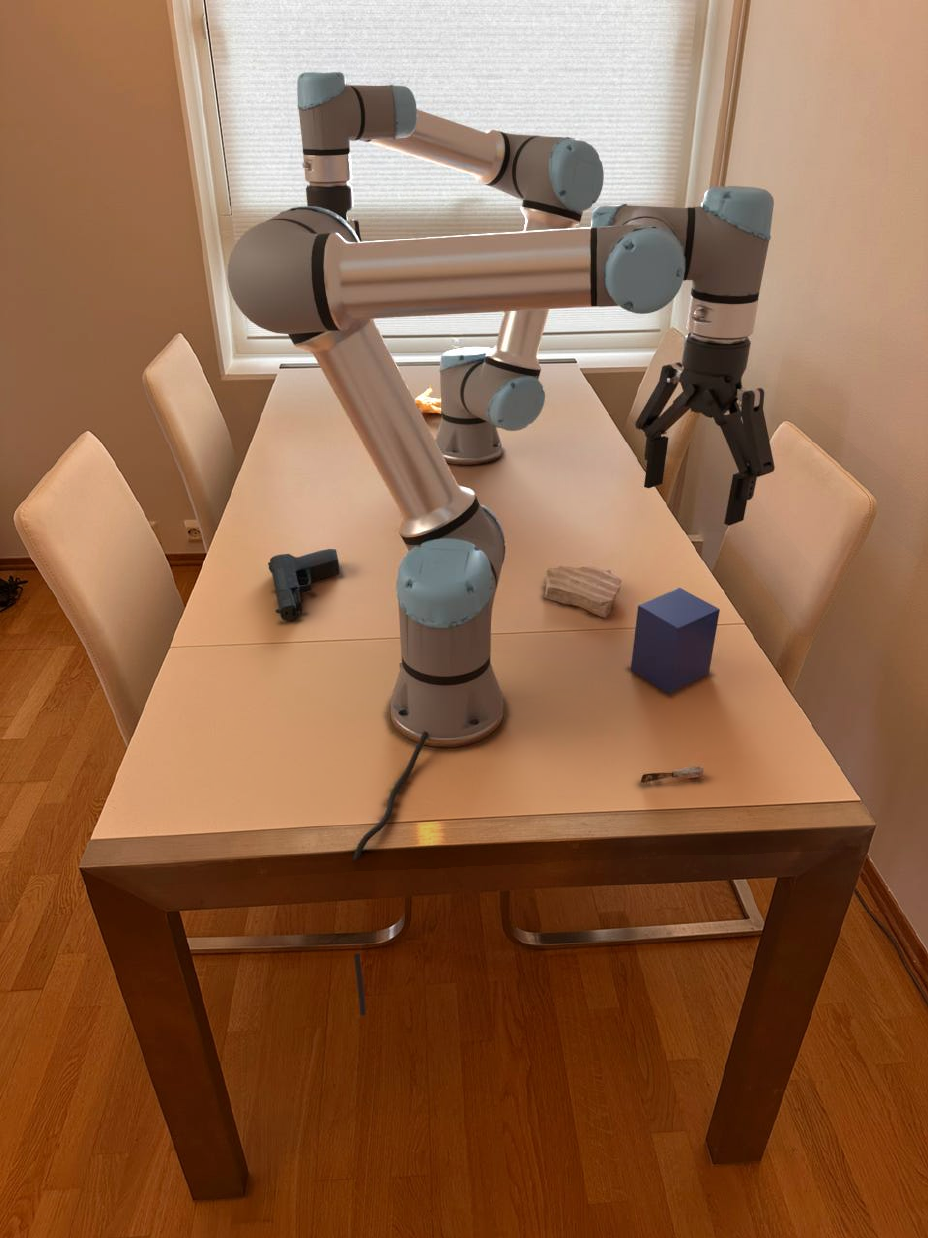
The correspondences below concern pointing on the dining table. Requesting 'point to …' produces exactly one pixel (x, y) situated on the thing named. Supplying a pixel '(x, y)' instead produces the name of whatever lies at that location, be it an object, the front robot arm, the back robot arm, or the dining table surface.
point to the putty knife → (674, 774)
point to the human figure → (428, 402)
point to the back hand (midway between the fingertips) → (339, 318)
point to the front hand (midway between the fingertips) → (691, 503)
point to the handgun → (299, 577)
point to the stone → (583, 588)
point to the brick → (674, 639)
